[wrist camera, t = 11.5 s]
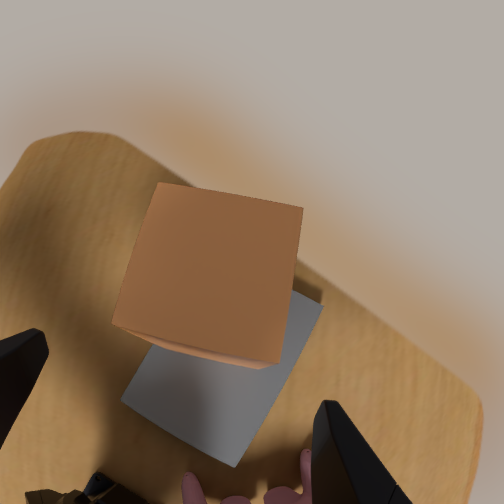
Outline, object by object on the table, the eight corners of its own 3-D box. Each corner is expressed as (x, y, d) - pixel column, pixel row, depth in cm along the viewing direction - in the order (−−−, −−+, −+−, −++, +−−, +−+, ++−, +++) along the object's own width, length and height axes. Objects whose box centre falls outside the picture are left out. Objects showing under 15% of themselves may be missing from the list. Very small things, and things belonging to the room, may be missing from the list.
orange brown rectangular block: (258, 369, 20) (279, 363, 11) (165, 348, 20) (110, 323, 11) (275, 279, 22) (303, 207, 13) (187, 262, 23) (158, 182, 13)
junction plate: (234, 462, 19) (234, 481, 14) (126, 398, 20) (103, 402, 16) (318, 310, 23) (336, 295, 19) (214, 255, 24) (210, 229, 20)
